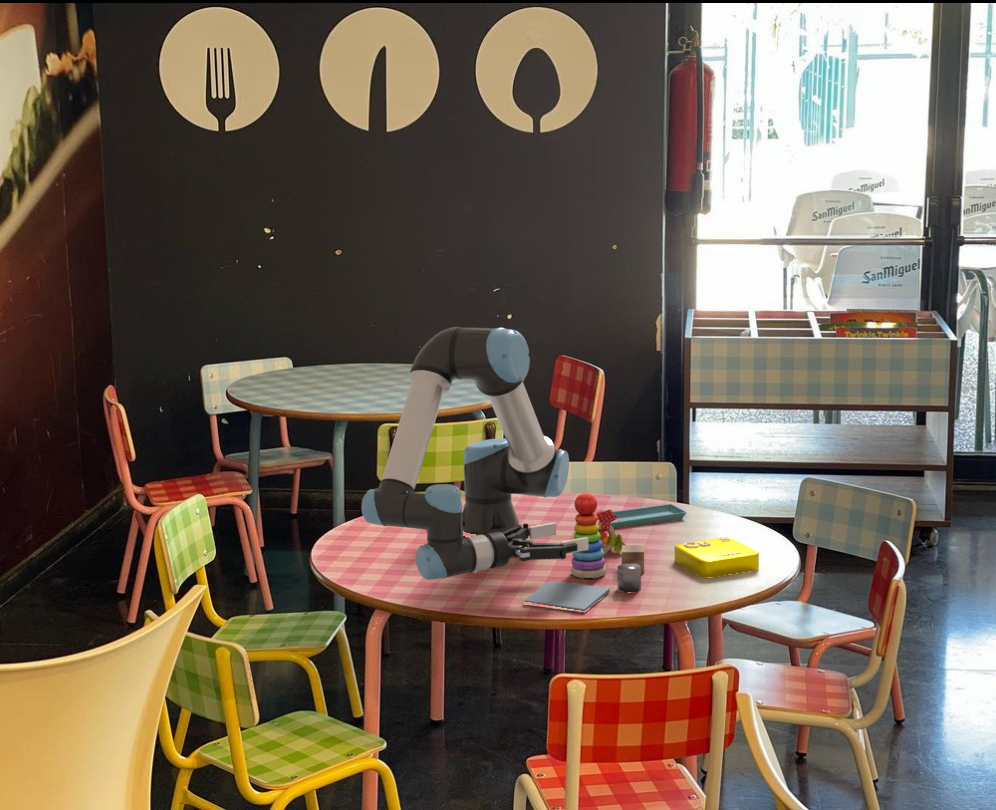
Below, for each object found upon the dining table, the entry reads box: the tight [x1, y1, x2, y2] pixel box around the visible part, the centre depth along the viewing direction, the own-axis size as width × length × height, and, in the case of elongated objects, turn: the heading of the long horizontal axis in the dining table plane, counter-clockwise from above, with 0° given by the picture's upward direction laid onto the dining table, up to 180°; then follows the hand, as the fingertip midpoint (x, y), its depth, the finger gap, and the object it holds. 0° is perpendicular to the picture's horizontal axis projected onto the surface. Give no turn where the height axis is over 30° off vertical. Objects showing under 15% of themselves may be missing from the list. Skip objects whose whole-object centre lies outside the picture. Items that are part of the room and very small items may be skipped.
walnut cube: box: [621, 544, 645, 574], centre depth 302 cm, size 5×5×5 cm
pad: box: [522, 580, 611, 611], centre depth 284 cm, size 14×14×1 cm
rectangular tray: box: [595, 503, 687, 529], centre depth 341 cm, size 26×9×2 cm, turn 109°
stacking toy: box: [570, 492, 607, 579], centre depth 298 cm, size 8×8×19 cm
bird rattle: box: [596, 509, 627, 554], centre depth 314 cm, size 6×11×9 cm
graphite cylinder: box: [617, 563, 642, 593], centre depth 289 cm, size 5×5×5 cm
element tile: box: [674, 536, 760, 579], centre depth 304 cm, size 15×15×5 cm
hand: (571, 535), depth 295 cm, fingers open, 13 cm apart
